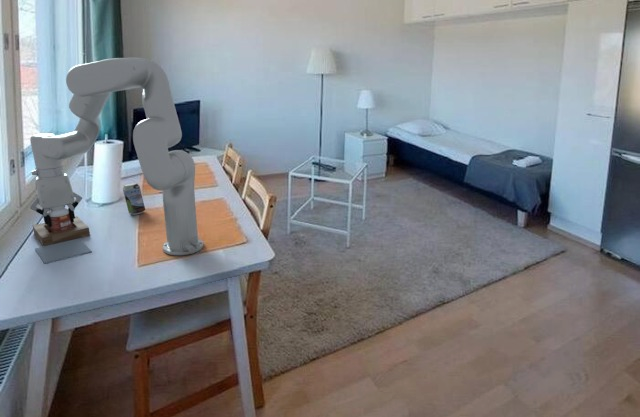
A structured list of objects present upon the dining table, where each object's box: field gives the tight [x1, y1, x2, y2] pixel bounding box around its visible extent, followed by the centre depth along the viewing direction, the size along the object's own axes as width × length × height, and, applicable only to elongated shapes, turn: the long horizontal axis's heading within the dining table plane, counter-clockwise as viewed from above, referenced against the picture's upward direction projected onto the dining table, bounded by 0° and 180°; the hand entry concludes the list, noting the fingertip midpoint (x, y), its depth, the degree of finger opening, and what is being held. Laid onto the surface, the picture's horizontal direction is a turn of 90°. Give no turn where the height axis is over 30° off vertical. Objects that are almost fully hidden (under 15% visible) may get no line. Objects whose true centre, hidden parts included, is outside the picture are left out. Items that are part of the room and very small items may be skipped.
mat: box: [34, 238, 92, 265], centre depth 142 cm, size 13×13×1 cm
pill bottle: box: [48, 205, 72, 233], centre depth 152 cm, size 6×6×11 cm
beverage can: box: [122, 182, 146, 216], centre depth 173 cm, size 6×7×12 cm
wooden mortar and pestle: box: [32, 208, 91, 247], centre depth 154 cm, size 19×14×16 cm
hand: (60, 223), depth 153 cm, fingers closed on pill bottle, 6 cm apart
